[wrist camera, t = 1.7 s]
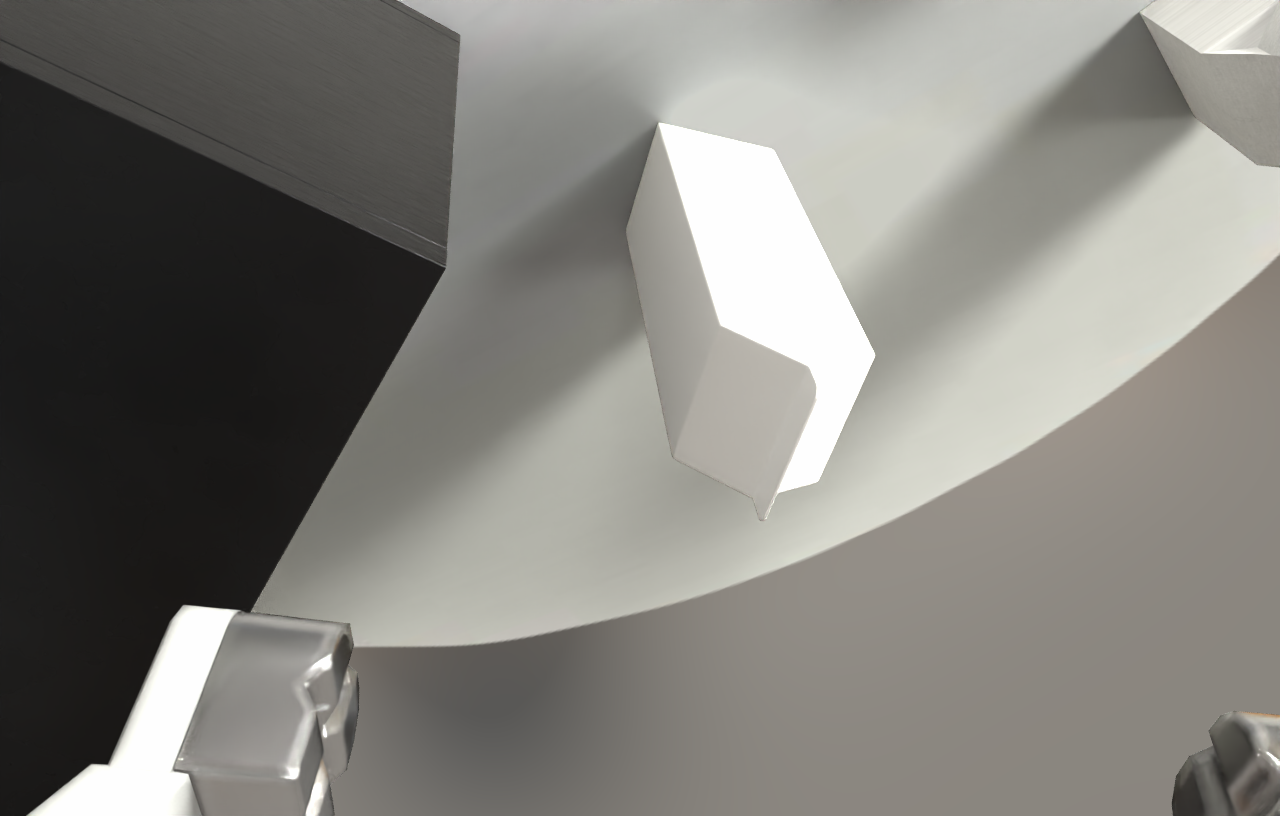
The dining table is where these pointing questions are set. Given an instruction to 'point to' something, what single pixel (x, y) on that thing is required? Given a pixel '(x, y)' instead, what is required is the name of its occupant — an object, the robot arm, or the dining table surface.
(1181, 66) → the white small box
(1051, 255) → the dining table surface
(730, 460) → the milk
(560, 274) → the dining table surface
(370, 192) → the microwave
